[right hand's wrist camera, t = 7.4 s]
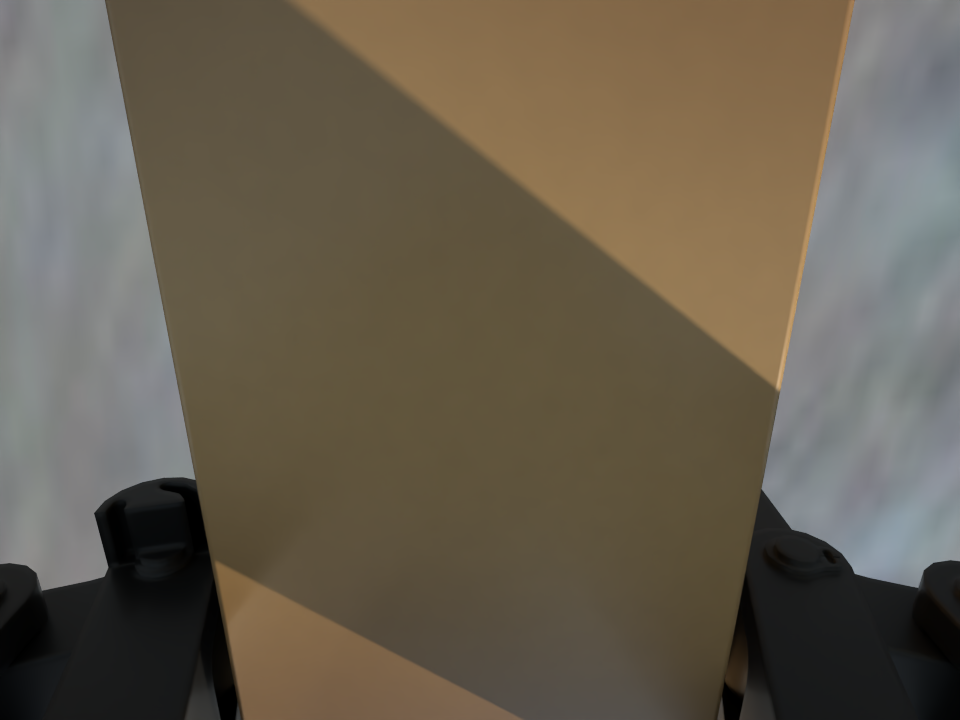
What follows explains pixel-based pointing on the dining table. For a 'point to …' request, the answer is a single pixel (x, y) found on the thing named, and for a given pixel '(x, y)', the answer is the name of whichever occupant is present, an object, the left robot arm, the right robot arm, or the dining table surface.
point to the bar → (479, 333)
